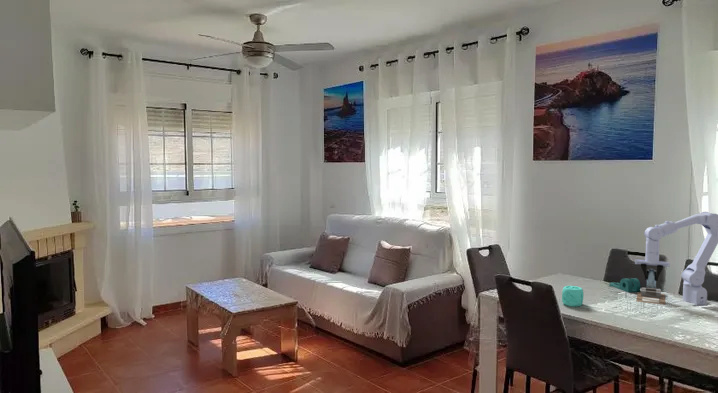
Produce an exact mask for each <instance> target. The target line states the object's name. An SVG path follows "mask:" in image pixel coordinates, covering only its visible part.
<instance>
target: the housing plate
mask: <svg viewBox="0 0 718 393" xmlns="http://www.w3.org/2000/svg"><path fill="white" fill-rule="evenodd" d="M635 301H636V302H637V303H644V304H647V303H648V304H654V305H664V306H666V295H665V293H662V290H661V288H648V287H643V286H642V287H641V288H640V292H636V300H635Z"/></svg>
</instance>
